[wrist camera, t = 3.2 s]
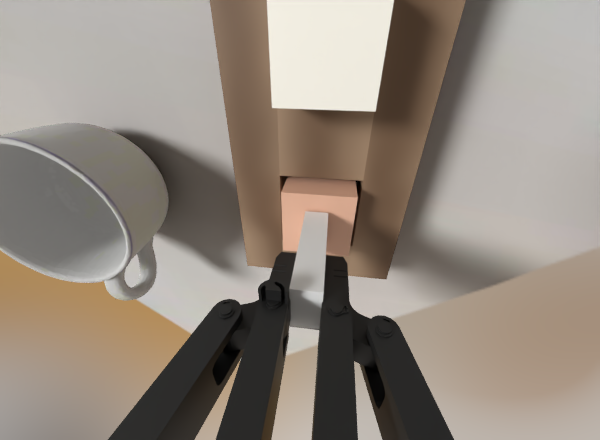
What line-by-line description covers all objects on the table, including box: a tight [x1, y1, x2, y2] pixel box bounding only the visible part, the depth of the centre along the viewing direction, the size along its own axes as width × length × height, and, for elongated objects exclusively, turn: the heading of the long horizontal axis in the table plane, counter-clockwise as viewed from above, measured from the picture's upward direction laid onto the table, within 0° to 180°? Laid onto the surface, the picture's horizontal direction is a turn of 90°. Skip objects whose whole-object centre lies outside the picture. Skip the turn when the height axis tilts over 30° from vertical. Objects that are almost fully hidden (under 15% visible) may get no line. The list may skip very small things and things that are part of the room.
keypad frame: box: [210, 0, 466, 279], centre depth 14 cm, size 12×32×3 cm, turn 179°
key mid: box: [267, 0, 394, 112], centre depth 12 cm, size 5×5×4 cm
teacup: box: [0, 123, 169, 300], centre depth 20 cm, size 14×11×8 cm
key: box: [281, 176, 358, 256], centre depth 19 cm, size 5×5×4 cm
